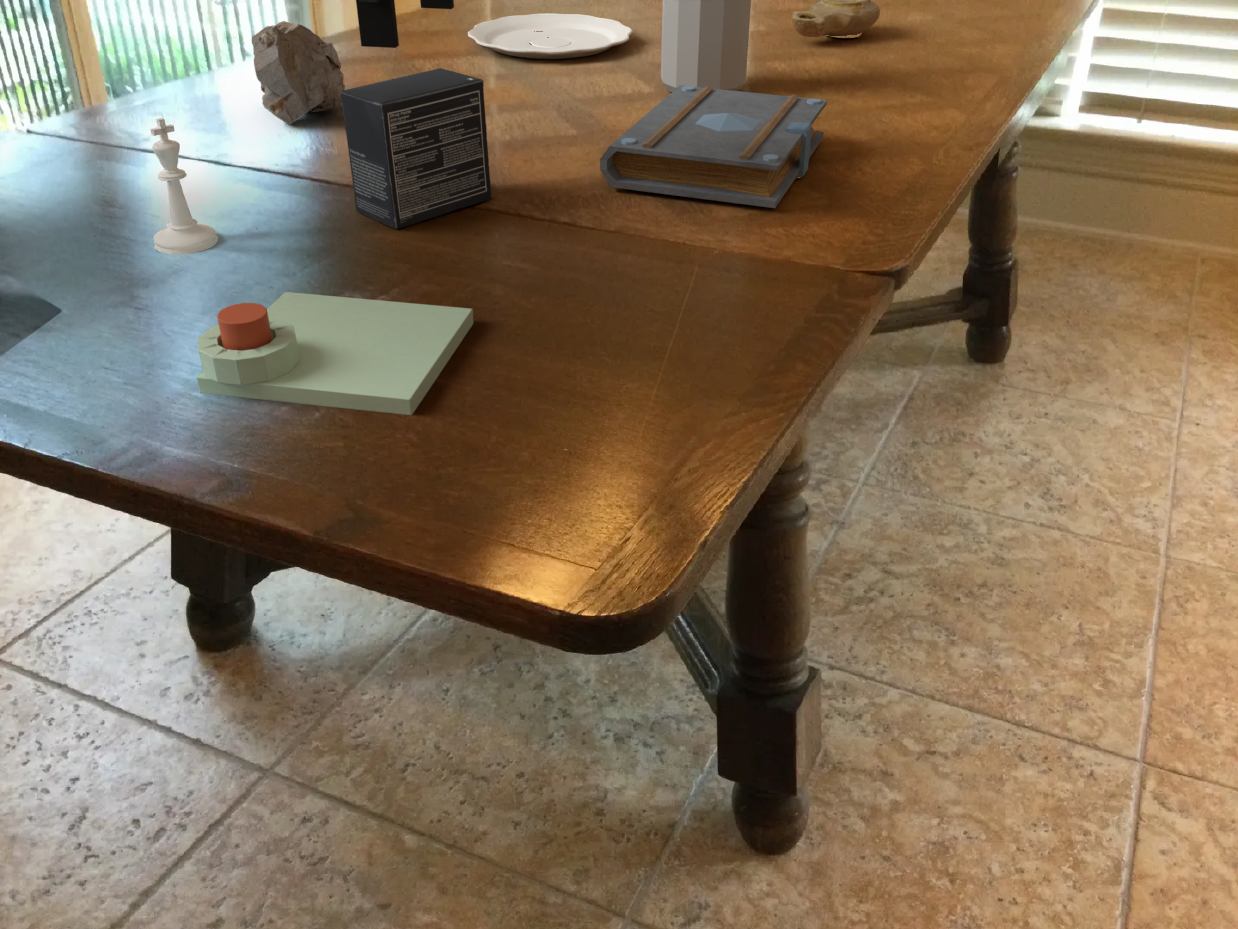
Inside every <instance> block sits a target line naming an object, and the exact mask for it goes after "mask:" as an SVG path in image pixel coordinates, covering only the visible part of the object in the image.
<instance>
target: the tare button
mask: <svg viewBox="0 0 1238 929" xmlns="http://www.w3.org/2000/svg"><path fill="white" fill-rule="evenodd" d="M267 309H268V308H266V306H264V305H262V304H259V303H253V302H242V303H236V304H231V305H227V306H226V307H224V308H222V309H221V310H220V311H219V312H217V315H216V318H217V324H218V325H219V328H220V333H221V338H222V343H223V347H224V348H225V349H228V350H238V351H243V350H250V349H257V348H259V347H261V346H264V345H266V344H269V343H270V342H271V341H272V335H271V330H270V324H269V318H268V313H267Z"/></svg>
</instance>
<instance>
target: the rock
mask: <svg viewBox="0 0 1238 929" xmlns="http://www.w3.org/2000/svg"><path fill="white" fill-rule="evenodd" d="M251 45H252V47H253V49H252V50H253V55H254V58H253V67H254V72H255V76H256V79H257V81H258V82H259V83H260V90H261V92H262V93H264V94H262V96H261V100H262V102H261V103H262V106H263V108H264V109H266V110H267V111H268V112H270V113H271V114H272V115H273V116H274V117H277V118H278V119H279V120H280V121H282V122H284V123H285V124H286V125H291V124H293V123H294V122H295V121H297V120H299V119H300V118H301V117H302V116H304V115H306V114H307V113H308V112H313V111H314V112H313V113H319V112H322V111H329V110H332V109H335V107H337V106H338V105H342V101H341V94H340V91H343V90H346V89H345V88H346V85H345V84H344V83H345V82H344V76H345V75H344V73H343V72H342V71H341V68H342V63H341V62H340V59H339V55H338V52H337V50H336V48H335V46H334V45H333V43H332V42H326V41H323V40H322V38H321V37H320V36H319V35H317V34H316V33H315V32H313V31H312V30H311V29H309V28H308V27H306V26H304V25H302V24H300V23H294V22H293V23H292V22H288V21H286V20H283V21H279V22H278V23H277V24H276V25H275V24H274V25H267V26H265V27H263V28H262V29H261V30H259V31H258V32H257V33H255V34H254V35H253V36H252V37H251Z"/></svg>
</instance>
